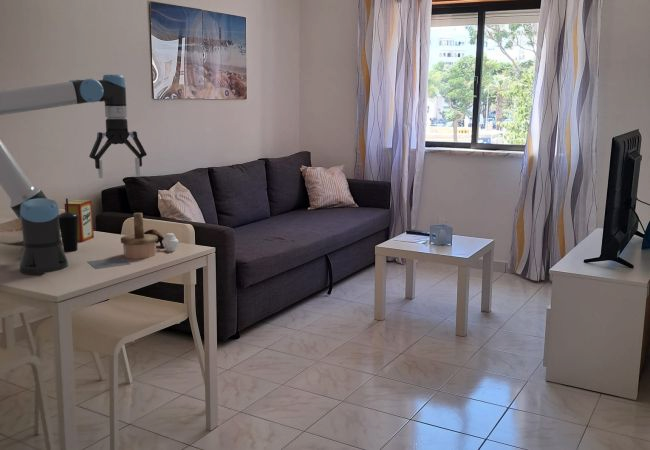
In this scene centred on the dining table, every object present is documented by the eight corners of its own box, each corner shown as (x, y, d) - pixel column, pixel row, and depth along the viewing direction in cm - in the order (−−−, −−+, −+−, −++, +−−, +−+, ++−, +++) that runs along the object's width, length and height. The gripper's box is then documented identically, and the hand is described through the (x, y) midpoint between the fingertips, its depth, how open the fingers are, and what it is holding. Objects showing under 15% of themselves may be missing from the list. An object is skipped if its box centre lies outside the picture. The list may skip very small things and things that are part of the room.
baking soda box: (82, 242, 267) (79, 203, 264) (67, 241, 268) (64, 202, 265) (93, 237, 276) (91, 199, 273) (79, 236, 277) (76, 199, 274)
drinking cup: (56, 250, 254) (52, 198, 250) (76, 247, 259) (72, 196, 255) (64, 253, 248) (60, 200, 244) (84, 250, 253) (80, 198, 249)
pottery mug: (167, 251, 255) (156, 234, 251) (145, 261, 255) (134, 245, 252) (169, 237, 265) (158, 220, 262) (148, 247, 266) (137, 231, 262)
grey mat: (95, 271, 223) (95, 268, 223) (86, 263, 233) (86, 261, 233) (131, 266, 229) (131, 264, 229) (121, 259, 239) (121, 257, 239)
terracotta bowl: (129, 262, 235) (129, 245, 234) (120, 255, 244) (119, 239, 243) (160, 258, 241) (159, 241, 240) (150, 252, 250) (149, 236, 249)
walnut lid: (127, 246, 233) (125, 217, 231) (116, 239, 244) (114, 212, 242) (162, 242, 240) (161, 214, 238) (151, 235, 250) (149, 209, 249)
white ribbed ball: (162, 249, 255) (161, 231, 254) (178, 248, 257) (177, 230, 256) (162, 252, 249) (161, 234, 248) (179, 251, 251) (178, 233, 250)
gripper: (83, 119, 230) (87, 179, 234) (153, 118, 244) (156, 175, 248) (78, 118, 236) (82, 177, 240) (146, 117, 250) (149, 173, 254)
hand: (119, 176), depth 244 cm, fingers open, 13 cm apart
